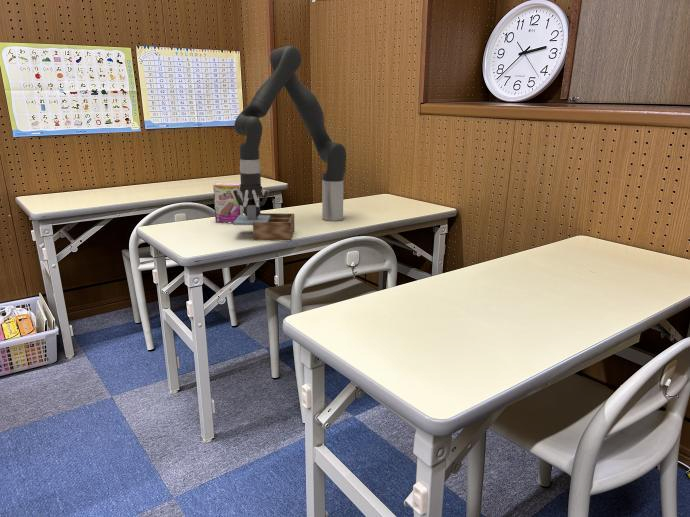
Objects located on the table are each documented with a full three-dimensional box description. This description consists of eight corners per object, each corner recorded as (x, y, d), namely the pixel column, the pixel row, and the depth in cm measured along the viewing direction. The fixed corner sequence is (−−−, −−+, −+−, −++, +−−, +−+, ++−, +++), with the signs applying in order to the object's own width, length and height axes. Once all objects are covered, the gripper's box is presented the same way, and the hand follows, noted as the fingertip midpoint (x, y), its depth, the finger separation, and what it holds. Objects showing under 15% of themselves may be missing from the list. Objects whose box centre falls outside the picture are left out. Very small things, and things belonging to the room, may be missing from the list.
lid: (270, 217, 199) (270, 203, 198) (266, 225, 188) (265, 209, 186) (239, 217, 199) (238, 202, 197) (233, 225, 188) (232, 209, 186)
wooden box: (294, 230, 203) (294, 213, 200) (290, 240, 188) (290, 222, 186) (260, 230, 203) (259, 213, 200) (253, 240, 188) (252, 222, 186)
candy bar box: (215, 223, 213) (212, 184, 207) (219, 220, 217) (216, 182, 212) (240, 224, 212) (238, 185, 206) (244, 221, 216) (242, 183, 211)
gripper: (270, 170, 191) (271, 214, 197) (233, 169, 191) (235, 213, 196) (267, 173, 184) (269, 218, 189) (229, 172, 184) (231, 218, 189)
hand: (252, 215), depth 193 cm, fingers closed on lid, 3 cm apart
